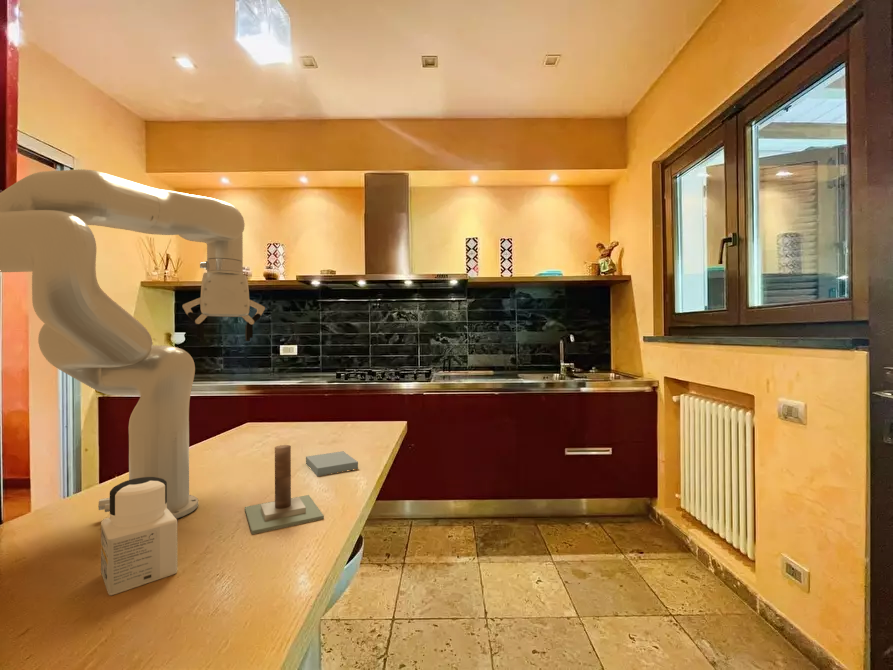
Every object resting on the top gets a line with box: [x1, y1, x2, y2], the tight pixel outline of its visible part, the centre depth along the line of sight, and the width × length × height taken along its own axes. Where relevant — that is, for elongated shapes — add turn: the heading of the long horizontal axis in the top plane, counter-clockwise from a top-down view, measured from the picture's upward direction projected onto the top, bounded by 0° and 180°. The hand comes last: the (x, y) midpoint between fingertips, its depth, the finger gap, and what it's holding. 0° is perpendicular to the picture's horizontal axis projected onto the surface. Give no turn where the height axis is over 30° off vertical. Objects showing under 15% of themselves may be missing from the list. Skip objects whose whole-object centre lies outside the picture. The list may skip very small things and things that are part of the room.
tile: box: [305, 450, 359, 477], centre depth 110 cm, size 2×12×10 cm
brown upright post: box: [260, 444, 306, 521], centre depth 80 cm, size 7×6×12 cm
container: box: [100, 477, 178, 596], centre depth 60 cm, size 8×8×13 cm
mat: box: [244, 494, 325, 535], centre depth 80 cm, size 12×12×1 cm
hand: (225, 341), depth 102 cm, fingers open, 9 cm apart
